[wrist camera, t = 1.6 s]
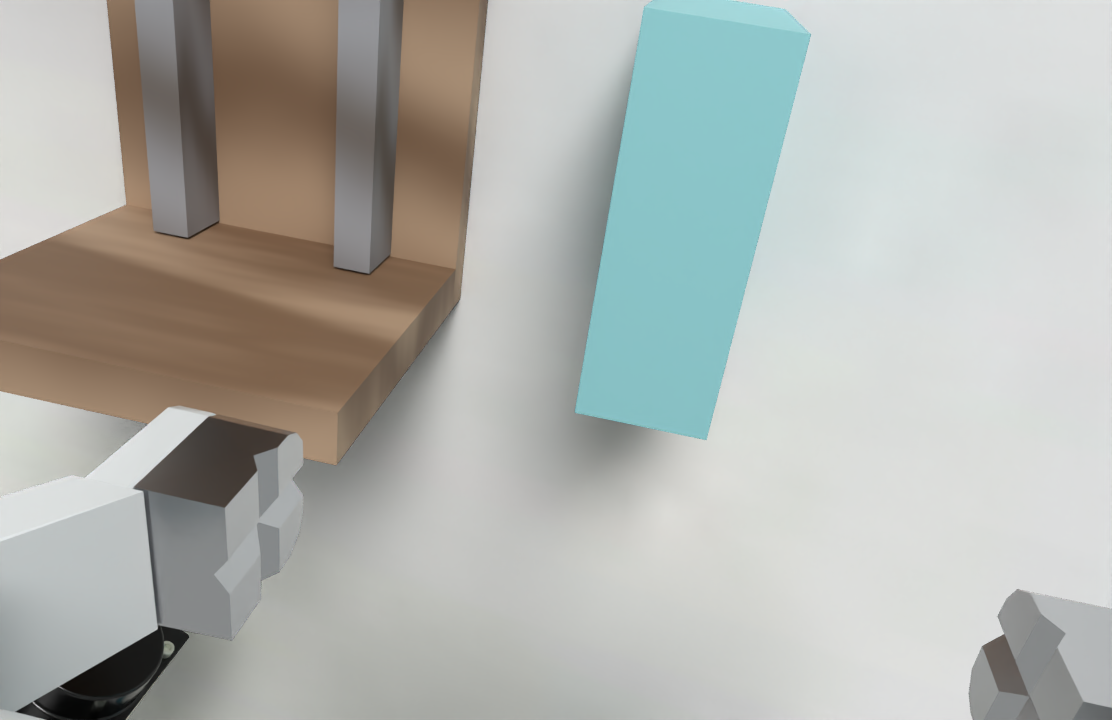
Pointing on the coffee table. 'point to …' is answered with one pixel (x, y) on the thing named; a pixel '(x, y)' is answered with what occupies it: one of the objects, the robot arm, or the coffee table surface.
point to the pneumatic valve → (111, 681)
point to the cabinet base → (262, 216)
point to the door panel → (687, 207)
